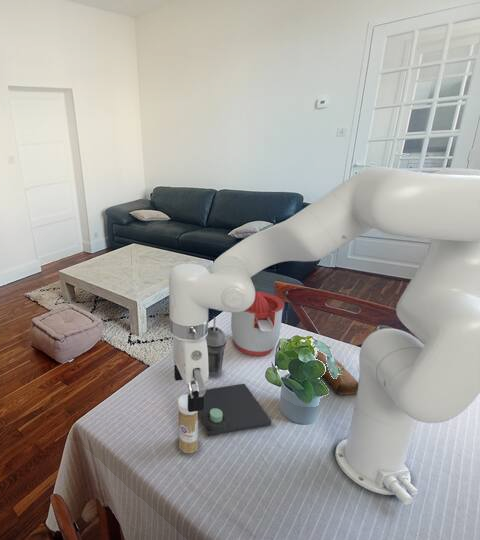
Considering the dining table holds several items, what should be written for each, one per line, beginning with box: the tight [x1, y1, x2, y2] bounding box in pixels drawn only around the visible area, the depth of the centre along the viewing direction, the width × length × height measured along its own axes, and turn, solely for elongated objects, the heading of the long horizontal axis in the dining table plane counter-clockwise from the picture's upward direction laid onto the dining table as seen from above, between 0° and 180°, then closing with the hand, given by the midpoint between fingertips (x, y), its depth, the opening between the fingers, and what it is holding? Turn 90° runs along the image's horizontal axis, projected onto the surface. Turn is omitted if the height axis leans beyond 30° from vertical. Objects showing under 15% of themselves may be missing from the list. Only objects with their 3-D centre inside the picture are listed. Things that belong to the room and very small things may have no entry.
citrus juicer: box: [230, 290, 285, 357], centre depth 109 cm, size 16×17×20 cm
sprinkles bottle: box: [176, 393, 199, 454], centre depth 76 cm, size 5×5×14 cm
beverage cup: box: [205, 316, 228, 379], centre depth 99 cm, size 7×7×20 cm
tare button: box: [210, 408, 223, 423], centre depth 82 cm, size 3×3×2 cm
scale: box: [198, 383, 272, 437], centre depth 87 cm, size 14×16×3 cm
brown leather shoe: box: [316, 350, 359, 396], centre depth 97 cm, size 18×7×7 cm
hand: (188, 393), depth 73 cm, fingers open, 9 cm apart
